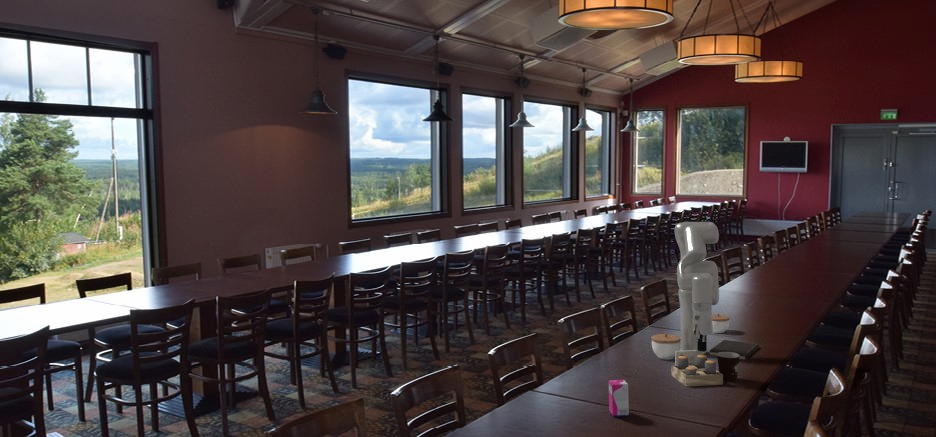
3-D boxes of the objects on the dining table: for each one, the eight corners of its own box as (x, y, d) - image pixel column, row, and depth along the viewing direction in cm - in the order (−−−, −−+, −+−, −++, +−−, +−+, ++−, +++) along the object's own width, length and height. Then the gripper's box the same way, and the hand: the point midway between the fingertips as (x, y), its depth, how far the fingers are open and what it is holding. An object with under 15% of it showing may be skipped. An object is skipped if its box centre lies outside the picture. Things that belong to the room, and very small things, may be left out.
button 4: (703, 372, 276) (703, 360, 276) (713, 372, 277) (713, 359, 276) (707, 375, 272) (707, 363, 272) (717, 375, 272) (717, 362, 272)
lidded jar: (732, 334, 349) (732, 315, 348) (711, 334, 349) (711, 316, 349) (725, 329, 360) (725, 311, 359) (704, 329, 360) (704, 311, 359)
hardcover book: (708, 355, 314) (708, 350, 313) (723, 344, 332) (723, 339, 332) (745, 360, 304) (745, 355, 304) (758, 348, 323) (758, 344, 322)
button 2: (683, 379, 276) (683, 367, 275) (693, 378, 276) (693, 366, 276) (687, 382, 272) (687, 370, 271) (698, 381, 272) (698, 369, 272)
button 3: (694, 367, 284) (694, 355, 284) (704, 366, 285) (704, 354, 284) (699, 370, 280) (699, 357, 280) (709, 369, 280) (709, 357, 280)
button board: (671, 375, 285) (671, 365, 285) (706, 373, 286) (706, 363, 286) (685, 386, 270) (685, 376, 270) (722, 384, 271) (722, 374, 271)
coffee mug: (725, 383, 272) (725, 358, 272) (712, 377, 281) (712, 353, 280) (750, 380, 275) (751, 355, 275) (737, 374, 284) (737, 350, 283)
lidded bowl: (681, 361, 304) (681, 337, 303) (652, 360, 306) (652, 336, 305) (679, 353, 316) (679, 330, 315) (650, 353, 318) (650, 329, 318)
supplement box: (624, 410, 246) (624, 379, 245) (629, 416, 240) (628, 384, 239) (608, 411, 246) (608, 379, 245) (612, 417, 240) (612, 384, 239)
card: (675, 372, 289) (675, 351, 288) (696, 371, 289) (696, 350, 289) (675, 372, 288) (675, 351, 287) (696, 371, 289) (696, 350, 288)
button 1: (675, 368, 284) (675, 356, 283) (685, 367, 284) (685, 355, 284) (679, 371, 279) (679, 358, 279) (689, 370, 280) (689, 358, 279)
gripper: (703, 310, 272) (704, 356, 273) (717, 304, 284) (717, 348, 285) (685, 308, 277) (685, 353, 278) (699, 302, 288) (700, 346, 289)
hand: (702, 350), depth 281 cm, fingers closed
